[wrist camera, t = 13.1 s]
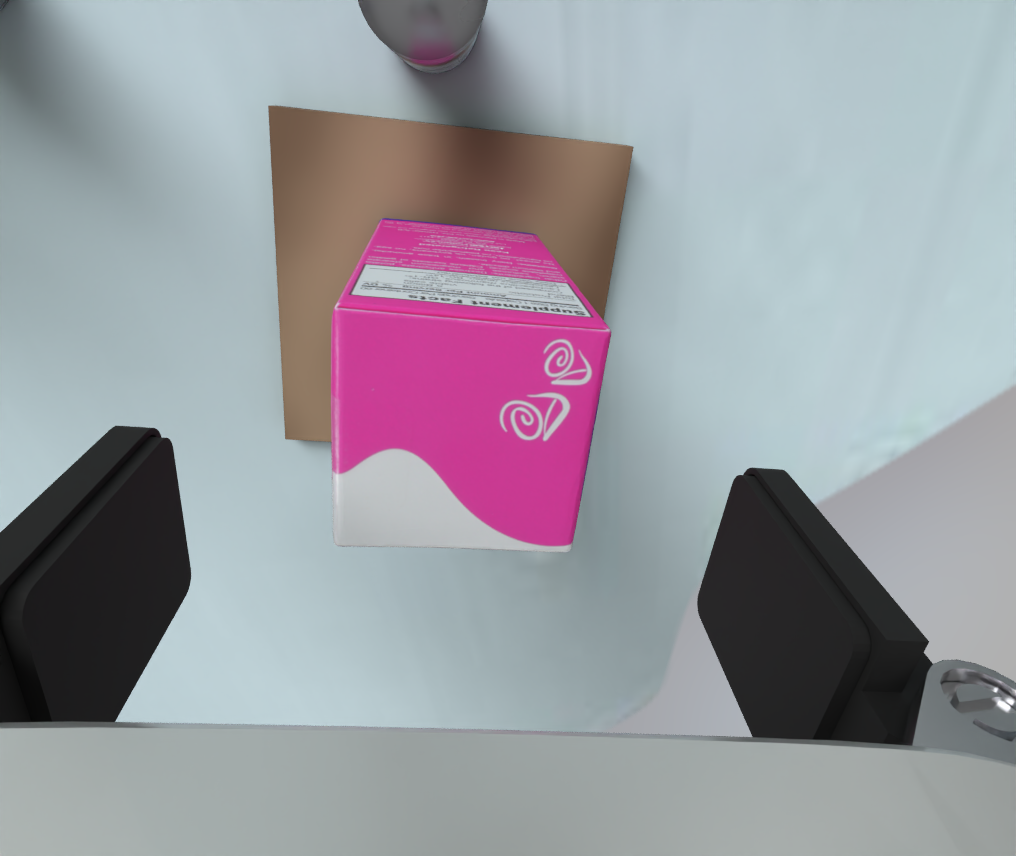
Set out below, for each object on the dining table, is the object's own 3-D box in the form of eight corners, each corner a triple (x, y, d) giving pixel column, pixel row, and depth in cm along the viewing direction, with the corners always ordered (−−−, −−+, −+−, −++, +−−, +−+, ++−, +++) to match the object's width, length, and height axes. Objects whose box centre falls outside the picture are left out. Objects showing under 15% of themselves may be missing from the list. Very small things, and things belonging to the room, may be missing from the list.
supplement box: (525, 381, 26) (572, 565, 15) (373, 369, 25) (316, 553, 15) (545, 230, 23) (619, 330, 13) (376, 212, 22) (311, 303, 12)
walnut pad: (626, 145, 23) (633, 146, 22) (575, 444, 28) (579, 456, 27) (275, 105, 22) (268, 105, 21) (291, 428, 27) (285, 439, 26)
